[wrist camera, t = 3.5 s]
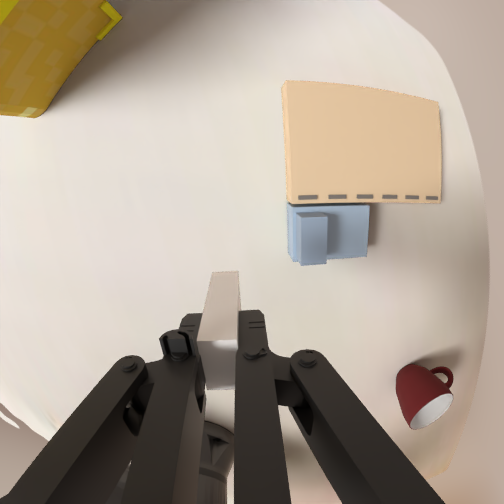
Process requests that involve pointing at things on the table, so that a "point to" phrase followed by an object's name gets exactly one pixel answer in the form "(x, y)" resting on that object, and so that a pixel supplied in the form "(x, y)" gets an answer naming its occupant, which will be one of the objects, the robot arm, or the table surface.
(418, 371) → the mug
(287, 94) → the board
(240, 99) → the table surface
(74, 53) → the book
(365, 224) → the stub
